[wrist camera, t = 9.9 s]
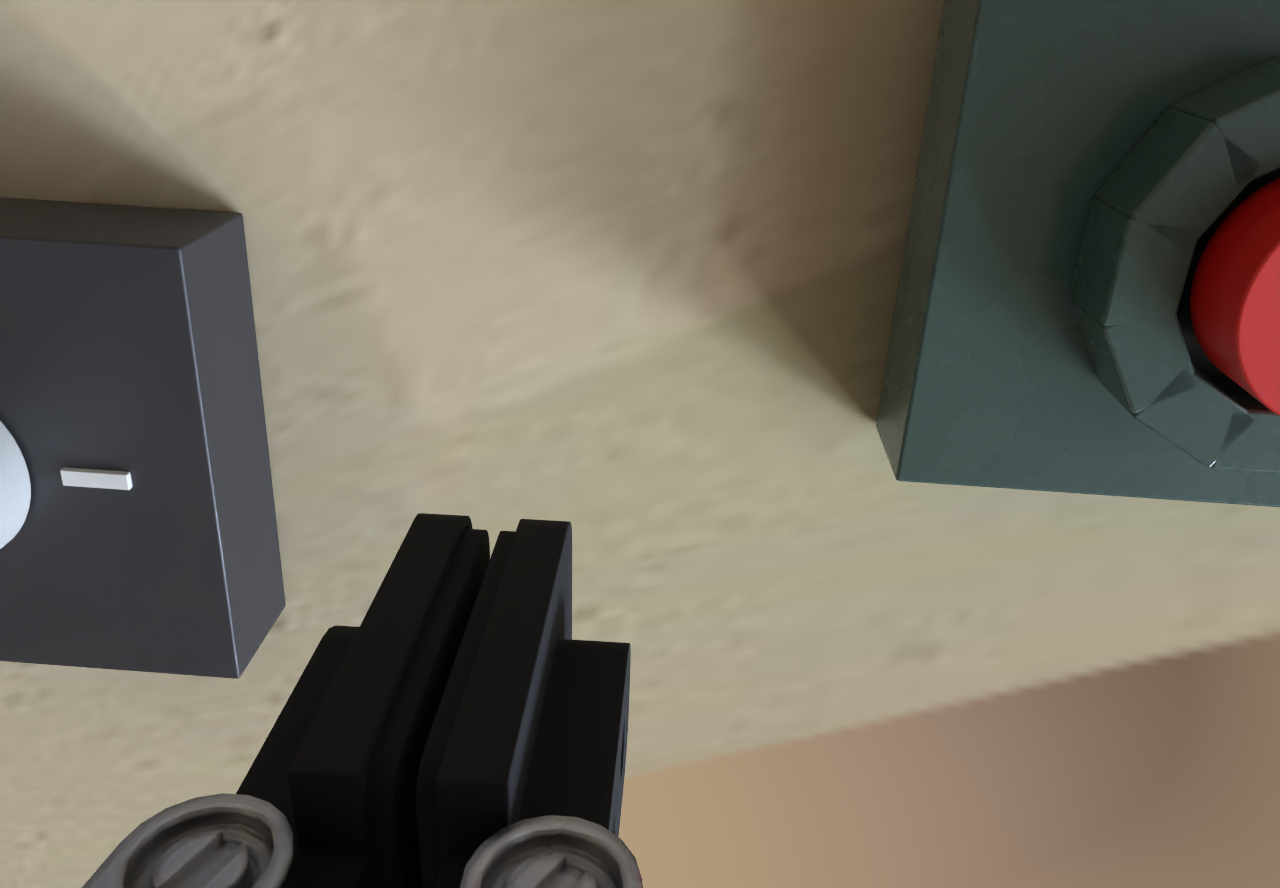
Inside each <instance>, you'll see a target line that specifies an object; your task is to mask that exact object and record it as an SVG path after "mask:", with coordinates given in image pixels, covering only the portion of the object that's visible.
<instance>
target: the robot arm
mask: <svg viewBox="0 0 1280 888" xmlns="http://www.w3.org/2000/svg"><path fill="white" fill-rule="evenodd" d="M629 687H630V643H617V642H601V641H584V640H572V528H571V523H570V522H566V521H548V520H530V519H521V520H520V522H519V524H518V527H517V530H516V532H513V531H500V534H499V536H498V539H497V542H496V544H495V547H494V550H493V553H492V556H491V559H490V548H489V536H488V532H487V530H477V529H472V523H471V519H470V518H469V516H458V515H440V514H422V513H421V514H418V515H417V516H416V517H415V519H414V521H413V523H412V525H411V527H410V529H409V531H408V533H407V535H406V537H405V539H404V541H403V543H402V545H401V547H400V549H399V550H398V552H397V554H396V556H395V558H394V560H393V562H392V564H391V566H390V568H389V570H388V572H387V574H386V576H385V578H384V580H383V582H382V584H381V586H380V588H379V590H378V592H377V594H376V596H375V598H374V600H373V602H372V604H371V606H370V608H369V610H368V612H367V614H366V616H365V618H364V620H363V622H362V624H361V626H360V627H351V626H333V627H331V628H329V629H328V631H327V632H326V633H325V635H324V636H323V637H322V639H321V641H320V643H319V645H318V647H317V648H316V650H315V652H314V654H313V656H312V657H311V659H310V661H309V663H308V665H307V666H306V668H305V670H304V672H303V674H302V675H301V677H300V679H299V681H298V683H297V685H296V686H295V688H294V690H293V692H292V694H291V695H290V697H289V699H288V701H287V703H286V704H285V706H284V708H283V710H282V712H281V714H280V715H279V717H278V719H277V721H276V723H275V724H274V726H273V728H272V730H271V732H270V733H269V735H268V737H267V739H266V741H265V742H264V744H263V746H262V748H261V750H260V752H259V753H258V755H257V757H256V759H255V761H254V762H253V764H252V766H251V768H250V770H249V771H248V773H247V775H246V777H245V779H244V781H243V782H242V784H241V786H240V788H239V790H238V791H237V793H236V794H216V795H210V796H204V797H197V798H193V799H190V800H188V801H185V802H182V803H179V804H177V805H174V806H171V807H169V808H166V809H164V810H163V811H161V812H159V813H158V814H156V815H154V816H153V817H151V818H149V819H148V820H146V821H144V822H143V823H141V824H140V825H139V826H138V827H137V828H136V829H135V830H134V831H132V832H131V833H130V834H129V835H128V836H127V837H126V838H125V839H124V840H123V841H122V842H121V843H120V844H119V845H118V846H117V847H116V848H115V850H114V851H113V852H112V853H111V854H110V855H109V857H108V858H107V859H106V860H105V861H104V862H103V864H102V865H101V866H100V867H99V868H98V869H97V871H96V872H95V873H94V874H93V875H92V877H91V878H90V879H89V880H88V881H87V882H86V884H85V885H84V886H83V887H82V888H643V885H642V878H641V875H640V871H639V868H638V865H637V862H636V859H635V857H634V855H633V854H632V853H631V851H630V850H629V849H628V847H627V846H626V845H625V844H624V842H623V841H622V840H621V839H620V838H619V837H618V835H619V825H620V815H621V804H622V795H623V784H624V774H625V761H626V748H627V732H628V714H629Z"/></svg>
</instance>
